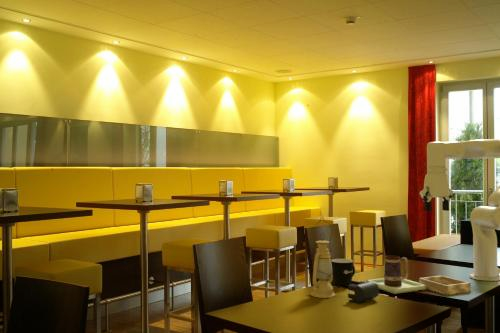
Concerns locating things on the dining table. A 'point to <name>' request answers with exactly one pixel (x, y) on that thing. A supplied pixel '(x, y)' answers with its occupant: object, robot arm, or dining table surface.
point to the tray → (405, 287)
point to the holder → (445, 285)
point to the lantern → (322, 270)
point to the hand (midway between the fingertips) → (436, 210)
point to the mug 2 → (394, 271)
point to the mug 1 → (342, 271)
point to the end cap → (363, 292)
